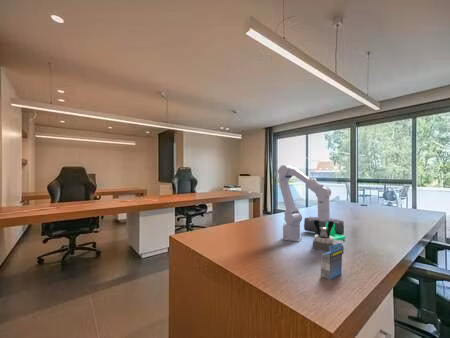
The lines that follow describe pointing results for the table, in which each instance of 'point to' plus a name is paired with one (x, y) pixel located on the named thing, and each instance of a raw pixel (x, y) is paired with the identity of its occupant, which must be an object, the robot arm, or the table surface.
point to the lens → (323, 232)
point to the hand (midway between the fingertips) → (323, 235)
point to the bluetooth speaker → (311, 226)
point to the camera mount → (333, 233)
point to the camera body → (325, 243)
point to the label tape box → (332, 262)
